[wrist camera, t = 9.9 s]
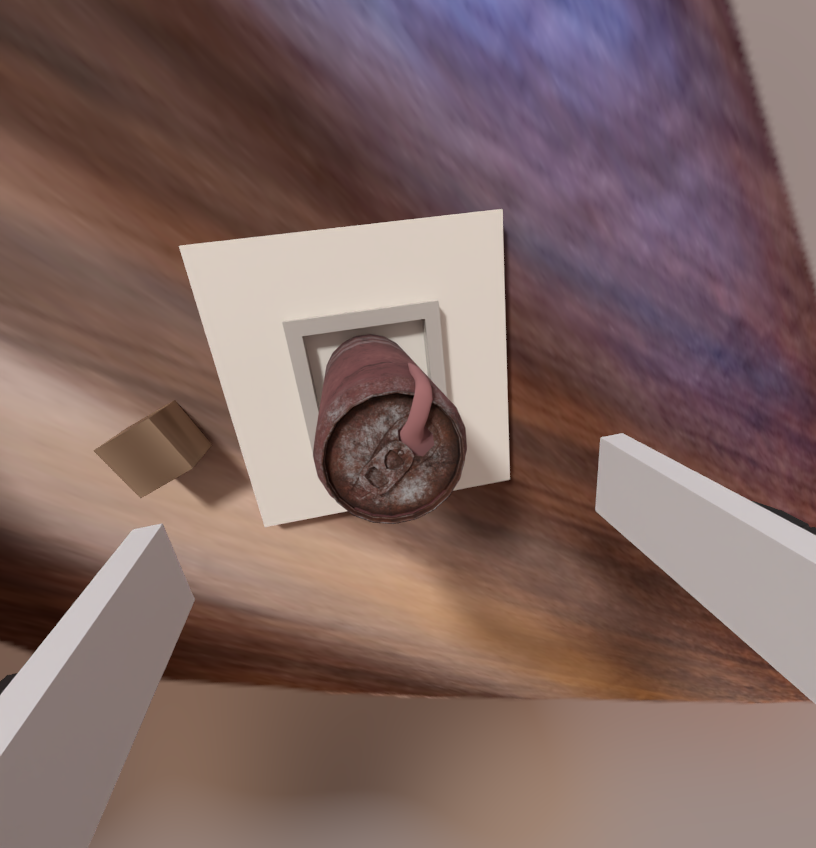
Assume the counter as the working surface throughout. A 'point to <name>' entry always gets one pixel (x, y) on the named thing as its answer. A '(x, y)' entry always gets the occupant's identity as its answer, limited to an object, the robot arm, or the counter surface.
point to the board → (344, 319)
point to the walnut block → (155, 449)
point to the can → (385, 434)
